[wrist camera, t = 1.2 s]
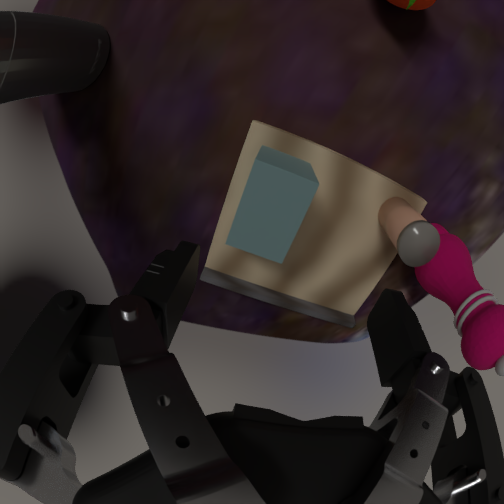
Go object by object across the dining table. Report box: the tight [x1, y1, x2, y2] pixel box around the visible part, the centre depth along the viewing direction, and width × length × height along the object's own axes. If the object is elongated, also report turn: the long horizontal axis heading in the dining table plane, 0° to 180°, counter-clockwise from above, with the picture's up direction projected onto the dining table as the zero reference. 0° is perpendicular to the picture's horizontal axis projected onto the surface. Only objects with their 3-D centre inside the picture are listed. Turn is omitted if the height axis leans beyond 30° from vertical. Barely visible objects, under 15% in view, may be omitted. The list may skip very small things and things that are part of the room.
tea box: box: [225, 145, 319, 264], centre depth 23 cm, size 5×7×7 cm
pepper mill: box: [414, 223, 504, 376], centre depth 20 cm, size 7×7×20 cm
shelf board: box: [200, 120, 427, 328], centre depth 28 cm, size 20×18×3 cm
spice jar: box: [378, 197, 440, 267], centre depth 23 cm, size 4×4×7 cm
